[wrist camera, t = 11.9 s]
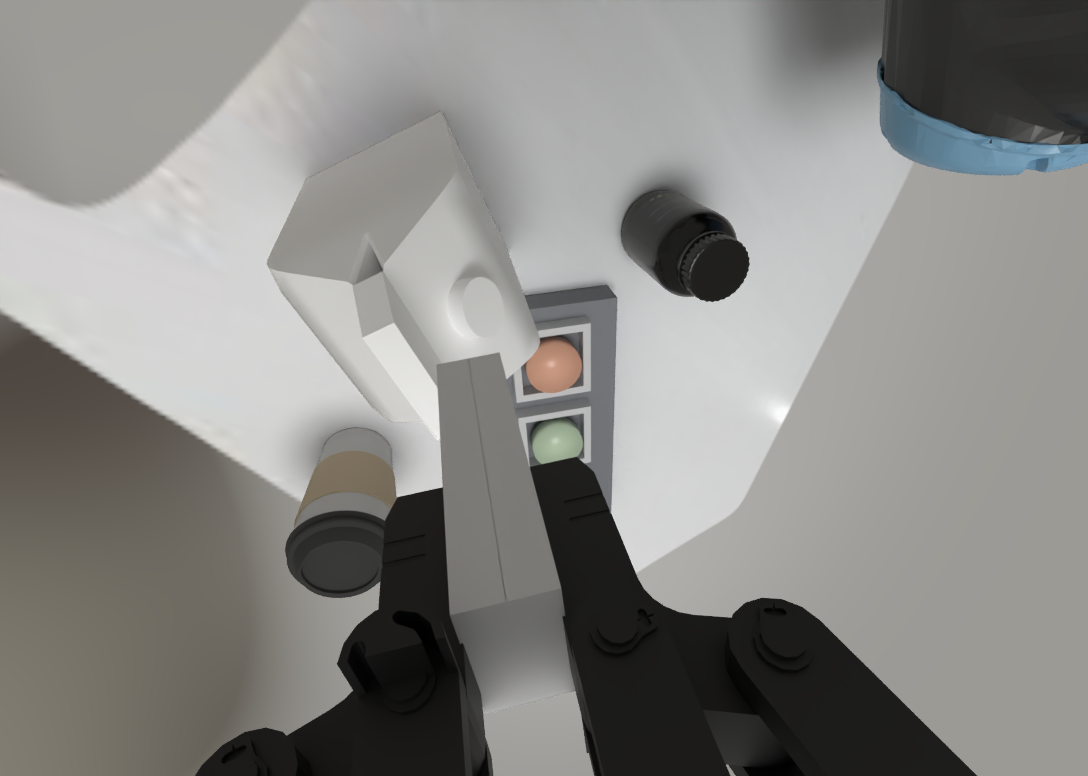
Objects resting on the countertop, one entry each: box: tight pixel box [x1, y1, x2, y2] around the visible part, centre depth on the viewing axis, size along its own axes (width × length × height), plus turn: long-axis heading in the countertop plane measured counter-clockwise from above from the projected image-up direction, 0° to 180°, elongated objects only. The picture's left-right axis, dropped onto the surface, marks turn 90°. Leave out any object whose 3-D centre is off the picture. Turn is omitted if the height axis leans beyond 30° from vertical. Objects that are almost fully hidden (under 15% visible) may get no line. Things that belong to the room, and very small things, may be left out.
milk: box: [267, 111, 540, 441], centre depth 32 cm, size 12×12×26 cm
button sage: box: [531, 417, 583, 464], centre depth 53 cm, size 5×5×2 cm
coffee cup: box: [285, 428, 397, 598], centre depth 48 cm, size 9×9×15 cm
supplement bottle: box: [622, 190, 749, 302], centre depth 43 cm, size 7×7×12 cm
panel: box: [507, 285, 617, 514], centre depth 55 cm, size 13×28×4 cm, turn 3°
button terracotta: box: [524, 336, 582, 393], centre depth 48 cm, size 5×5×2 cm
